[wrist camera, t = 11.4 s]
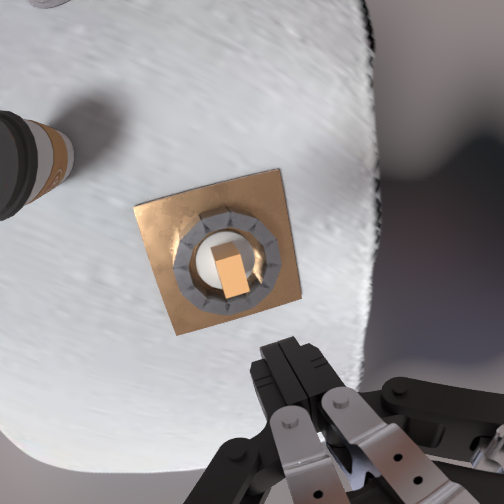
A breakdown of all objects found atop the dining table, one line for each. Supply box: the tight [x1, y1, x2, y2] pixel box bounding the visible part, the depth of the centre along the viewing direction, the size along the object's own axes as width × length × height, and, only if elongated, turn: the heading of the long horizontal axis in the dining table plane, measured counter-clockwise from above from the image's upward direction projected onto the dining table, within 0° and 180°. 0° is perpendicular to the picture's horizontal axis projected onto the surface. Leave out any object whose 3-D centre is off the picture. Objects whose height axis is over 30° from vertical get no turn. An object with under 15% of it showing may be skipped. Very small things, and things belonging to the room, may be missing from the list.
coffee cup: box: [0, 111, 74, 221], centre depth 22 cm, size 8×8×15 cm
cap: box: [195, 230, 255, 299], centre depth 33 cm, size 6×6×6 cm
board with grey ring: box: [133, 169, 302, 336], centre depth 35 cm, size 16×16×4 cm
